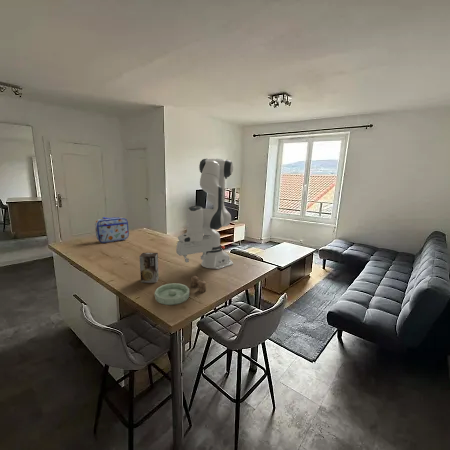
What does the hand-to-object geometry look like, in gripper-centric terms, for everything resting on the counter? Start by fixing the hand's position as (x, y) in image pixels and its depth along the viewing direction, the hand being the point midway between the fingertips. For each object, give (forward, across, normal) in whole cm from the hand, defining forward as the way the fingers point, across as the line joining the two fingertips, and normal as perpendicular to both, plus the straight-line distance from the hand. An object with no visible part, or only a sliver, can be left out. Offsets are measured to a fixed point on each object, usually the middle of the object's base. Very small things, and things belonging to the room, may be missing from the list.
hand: (194, 260), depth 133 cm
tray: (+15, +15, +5) cm, 22 cm away
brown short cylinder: (+15, -1, +7) cm, 17 cm away
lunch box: (+15, +27, -116) cm, 120 cm away
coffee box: (+15, +20, -19) cm, 32 cm away
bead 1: (+15, 0, 0) cm, 15 cm away
